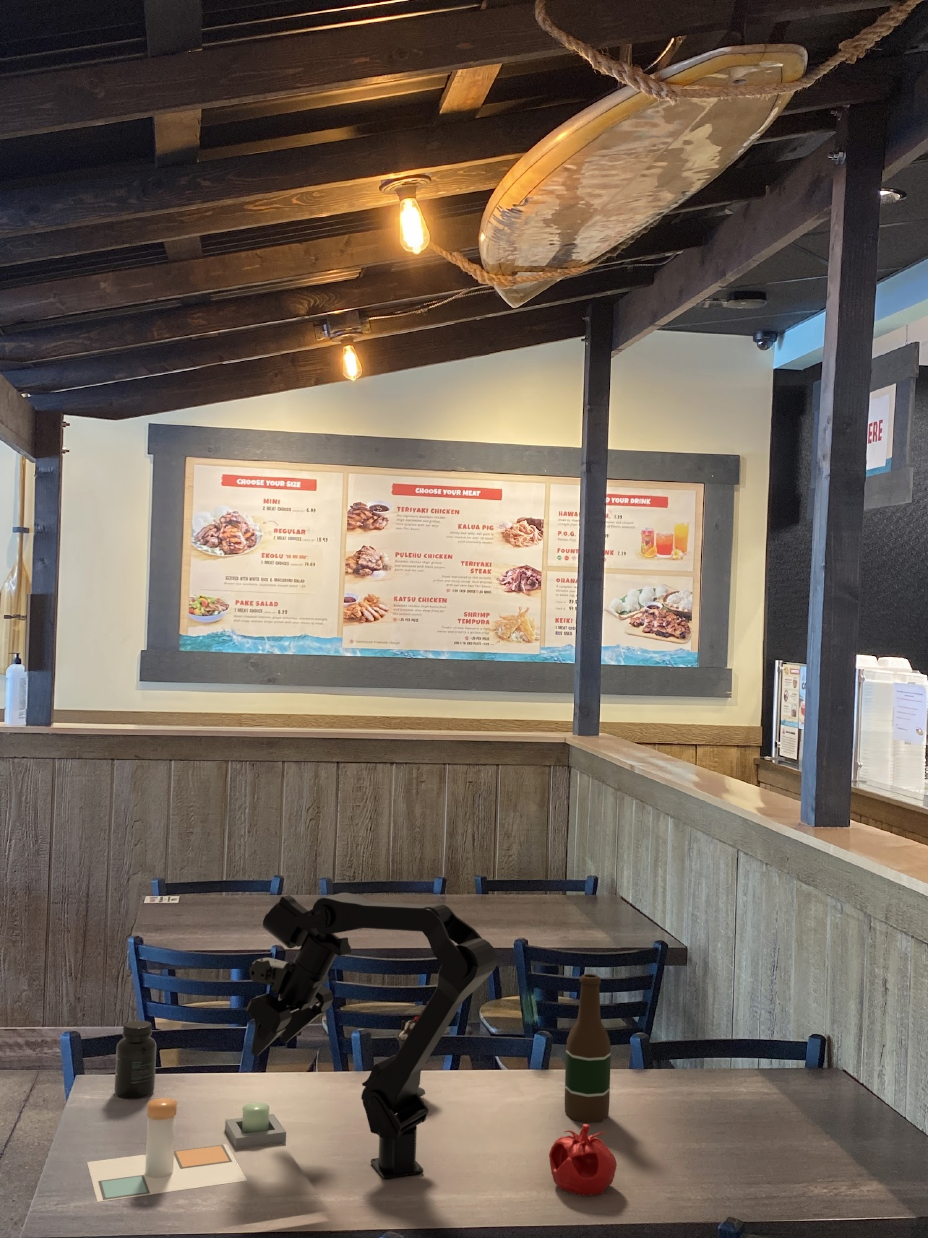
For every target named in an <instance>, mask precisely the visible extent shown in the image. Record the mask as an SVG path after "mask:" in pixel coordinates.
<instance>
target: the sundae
mask: <svg viewBox="0 0 928 1238" xmlns="http://www.w3.org/2000/svg"><path fill="white" fill-rule="evenodd" d="M423 1010H424V1009H421V1012H420V1013H418V1015H417V1016H415V1017H414V1019H411V1020H410V1019H409V1020H408V1021H406V1020H404V1019H403V1020H402V1021H401V1029H400V1031H399V1032H397V1033H395V1038H396V1040H397V1041H398V1044H399V1049H400V1048H401V1046H402V1045H403V1043H404V1041H405V1040H406V1038H407V1036H408V1035H409V1033H410V1031H411V1030H412V1028H413V1027H414V1025H415V1023H416V1022H417V1020H418V1018H419V1017H420V1015H421V1013H422V1012H423ZM417 1093H418V1095H419V1096H420V1097H421V1096H423V1095H425V1093H426V1091H425V1089H424V1088H422V1087H420V1086H419V1087H418V1090H417Z"/></svg>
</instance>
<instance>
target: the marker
mask: <svg viewBox="0 0 928 1238" xmlns="http://www.w3.org/2000/svg"><path fill="white" fill-rule="evenodd" d="M177 1105H178V1101H177V1100H176V1099H173V1098H169V1097H161V1098H155V1099H152V1100H149V1101H148V1102H147V1111H146V1115H147V1126H146V1148H145V1150H146V1151H145V1155H146V1166H145V1174H146V1175H147V1176H148V1177H152V1178H162V1177H166V1176H169V1175H171V1174H172V1173H173V1162H174V1151H175V1141H176V1139H175V1137H176V1136H175V1135H176V1117H177V1110H178V1107H177Z"/></svg>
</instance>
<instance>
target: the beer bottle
mask: <svg viewBox="0 0 928 1238" xmlns="http://www.w3.org/2000/svg"><path fill="white" fill-rule="evenodd" d="M579 983H580V991H579V1003H578V1013H577V1019H576V1022H575V1023H574V1025H573V1026H572V1027H571V1029H570V1030H569V1034H568V1036H567V1038H566V1047H565V1069H564V1070H565V1073H564V1074H565V1075H564V1076H565V1077H564V1079H565V1080H564V1112H565V1114H566V1115H567V1116H568V1118H570V1120H573V1121H576V1122H577V1121H578V1122H582V1123H584V1124H589V1123H591V1124H592V1123H601V1122H603V1121H604V1120H605V1119H606V1118H607V1117H608V1116H609V1112H610V1098H611V1097H610V1096H611V1095H610V1094H611V1093H610V1092H611V1091H610V1089H611V1062H612V1061H611V1055H612V1054H611V1051H612V1050H611V1048H612V1047H611V1040H610V1037H609V1034H608V1031H607V1030H606V1028H605V1026H604V1025H603V1023H602V1017H601V1004H600V1003H601V1001H600V1000H601V998H600V997H601V995H600V984H601V983H602V981H601V977H600V976H598V975H597V974H592V973H585V974H584V973H583V974H582V975H580V979H579Z"/></svg>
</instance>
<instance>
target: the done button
mask: <svg viewBox="0 0 928 1238" xmlns="http://www.w3.org/2000/svg"><path fill="white" fill-rule="evenodd" d="M269 1114H270V1105H269V1104H267V1103H264V1102H250V1103H246V1104H245V1105H243V1107H242V1118H243V1119H242V1133H243V1134H246V1133H254V1132H262V1131H269Z"/></svg>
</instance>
